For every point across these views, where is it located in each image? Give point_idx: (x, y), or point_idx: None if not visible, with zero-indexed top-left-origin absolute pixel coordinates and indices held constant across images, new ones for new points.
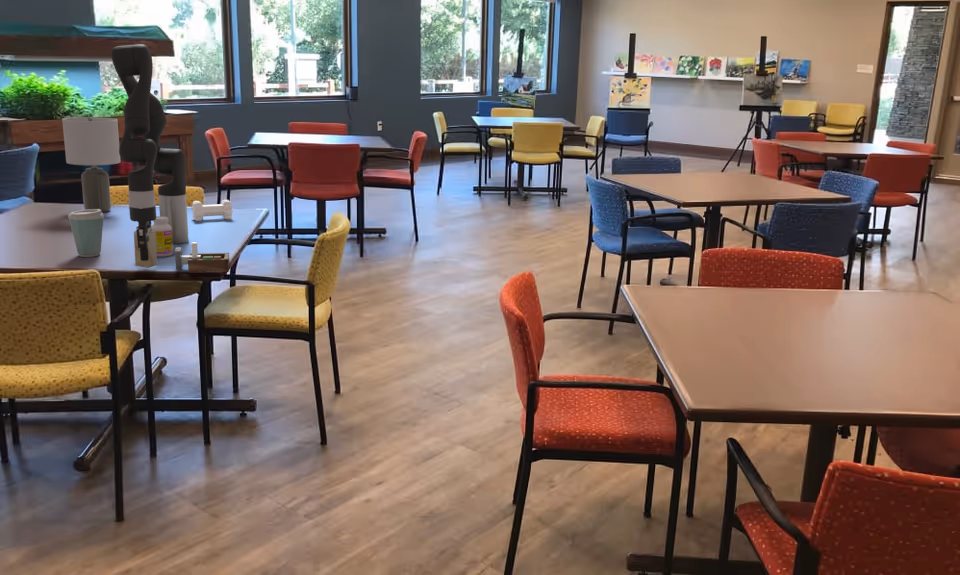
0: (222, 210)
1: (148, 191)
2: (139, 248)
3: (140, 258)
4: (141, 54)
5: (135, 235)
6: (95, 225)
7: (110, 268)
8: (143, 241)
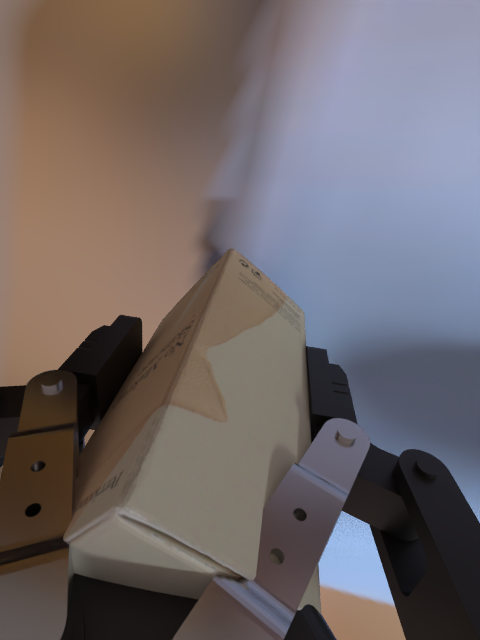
0: None
1: None
2: (46, 373)
3: (180, 313)
4: None
5: (121, 462)
6: None
7: (362, 12)
8: (79, 464)
